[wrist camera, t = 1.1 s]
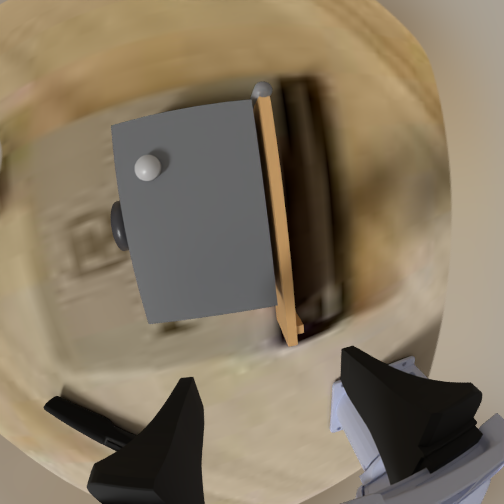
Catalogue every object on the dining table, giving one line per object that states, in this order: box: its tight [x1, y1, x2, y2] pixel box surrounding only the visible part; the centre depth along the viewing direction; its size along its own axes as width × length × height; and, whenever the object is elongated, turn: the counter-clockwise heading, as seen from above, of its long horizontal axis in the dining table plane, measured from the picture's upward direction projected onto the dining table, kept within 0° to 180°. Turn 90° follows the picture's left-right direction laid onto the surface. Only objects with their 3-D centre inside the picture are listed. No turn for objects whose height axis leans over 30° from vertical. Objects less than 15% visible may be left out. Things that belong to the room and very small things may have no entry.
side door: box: [250, 82, 304, 346], centre depth 17 cm, size 1×16×4 cm, turn 8°
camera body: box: [111, 99, 278, 324], centre depth 17 cm, size 9×12×4 cm
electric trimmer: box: [44, 396, 136, 451], centre depth 22 cm, size 4×16×3 cm, turn 58°
